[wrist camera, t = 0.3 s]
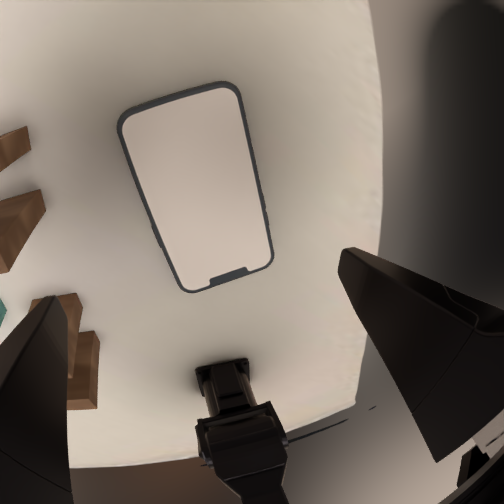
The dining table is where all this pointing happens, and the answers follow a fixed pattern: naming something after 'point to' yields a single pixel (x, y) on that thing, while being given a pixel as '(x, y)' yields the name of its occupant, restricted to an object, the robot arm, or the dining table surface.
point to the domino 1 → (2, 311)
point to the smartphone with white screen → (199, 183)
